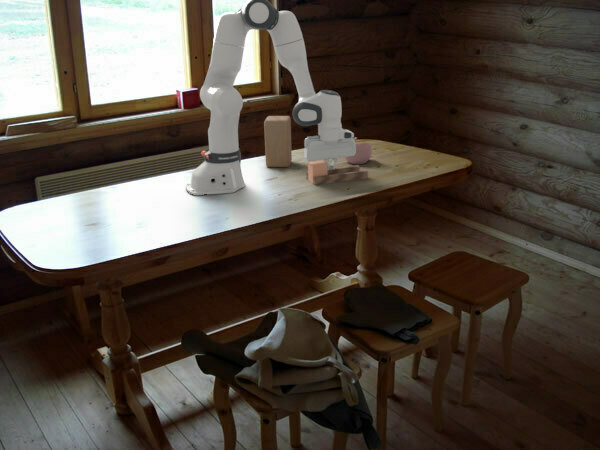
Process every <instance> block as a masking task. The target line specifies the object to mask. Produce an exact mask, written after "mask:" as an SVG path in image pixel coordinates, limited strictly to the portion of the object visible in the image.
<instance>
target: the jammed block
mask: <svg viewBox="0 0 600 450" xmlns="http://www.w3.org/2000/svg"><path fill="white" fill-rule="evenodd" d="M307 172H308V180H307V181H308V182H310V183H311V184H313V177H317V176H325V175H328V170H327V163H325V162H324V161H323V160H316V161H308V162H307Z"/></svg>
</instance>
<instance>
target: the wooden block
mask: <svg viewBox="0 0 600 450" xmlns="http://www.w3.org/2000/svg"><path fill="white" fill-rule="evenodd" d="M291 121H292V120H291V117H290V115H268V116H267V117H266V118H265V120H264V122H263V129H264V147H265V148H264V150H265V151H264V153H265V166H266V168H289V167H290V165H291V163H292V159H293V158H292V154H293V153H292V127H291V126H292V124H291V123H292V122H291Z"/></svg>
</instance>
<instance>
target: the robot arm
mask: <svg viewBox="0 0 600 450" xmlns="http://www.w3.org/2000/svg"><path fill="white" fill-rule="evenodd" d="M250 30H255V31H256V30H257V31H259V30H263V31H265V30H266V31H267V32H268V33H269V35H270V38H271V40H272V44H273V48H274V52H275V55H276V58H277V59H278V62H279V64H280V65H281V67H283V68H285V69H287V70H288V71H289V72H290V74H291V75H292V77H293V80H294V84H295V86H296V90H297V93H298V102H297V103H296V104H295V105H294V107H293V108H292V119H293V120H294V122H295V123H296V124H297V125H299V126H301V127H309V126H310V127H311V126H315V125H317V131H318V132H317V134H318V135H313V136H307V137H306V138H305V139H304V140H303V146H304V152H303V155H304V156H303V158H304V159H305V160H306V161H307V162H317V161H324V162H325V163H327V170H333V169H334V168H335V165H336V164H337V162H338V159H339V158H345V157H349V156H354V155H355V153H356V140H354V138H355V133H354V132H352V131H351V130H349V129H346V128H343V125H342V122H341V121H342V119H341V118H342V116H343V115H342V110H343V109H342V100H341V99H342V98H341V96H340V94H339V93H338V92H336V91H334V90H331V89H330V90H329V89H321V90H320V91H319V92H317V91H316V90H315V88H314V84H313V81H312V78H311V77H312V76H311V74H310V71H309V66H308V60H307V58H308V57H307V51H306V45H305V41H304V37H303V32H302V30H301V26H300V24H299V22H298V19H297V17H296V15H295V14H294V13H293V12H292V11H289V10H280V11H278V10H277V8H276V7H275V6H274V5H273V4H272V3H271V2H270V1H269V0H246V1H245V2H244V3H243V5H242V6H241V8H239V10H238V11H237V12H235V11H228V12H226V11H225V12H223V13H222V14H221V15H220V16H219V18H218V21H217V24H216V28H215V31H214V36H213V44H212V49H211V56H210V62H209V67H208V70H207V72H206V73H207V74H206V76H205V80H204V81H203V85H202V86H201V88H200V90H199V97H200V98H199V99H200V100H201V102H202V105H204V107H205V108H206V109H208V110H209V111H210V119H209V120H210V121H209V127H208V129H207V136H208V149H209V150H207V151H206V150H202V151H201V152H200V154H201V156H202V157H204V161H203V162H202V163H201V164H200V165H198V166H197V167H196V168H195V169H194V170H193V171H192V173H191V178H190V182H188V183H186V184H185V191H186V192H187V191H188V192H189V193H188V192H187V193H188V194H190V193H191V194H190V195H192V194H193V196H203V195H204V194H207V195H219V194H233V193H236V192H237V191H238V190H240V189H242V188H243V189H244V187H245V186H246V182H245V180H244V177H243V176H244V175H243V173H242V166H241V164H242V163H241V161H242V156H241V155H242V154H241V149H240V148H239V145H240V144H239V122H240V121H239V120H240V114H241V111H242V108H243V105H244V100H243V98H242V94H241V93H240V92H239V90H237V89H236V88H235V87H234V84H235V81H236V77H237V76H238V74H239V73H240V71H241V69H242V63H243V56H244V51H245V44H246V43H245V42H246V38H247V34H248V33H249V31H250ZM330 160H332V161H331V163H328V162H329V161H330ZM204 196H205V195H204Z"/></svg>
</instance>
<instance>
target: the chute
mask: <svg viewBox="0 0 600 450" xmlns="http://www.w3.org/2000/svg"><path fill="white" fill-rule="evenodd" d="M305 173H306V175H305V176H306V178H305V179H306V180H307V181H309V180H308V171H305ZM368 178H369V171H368V170H367V169H365V170H360V164H355V165H350V166H341V167H334V169H333V170H328V175H325V176H317V177H313V183H312V184H313V185H314V186H319V185H328V184H334V183H335V184H336V183H343V182H348V181H357V180H365V179H368Z"/></svg>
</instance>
